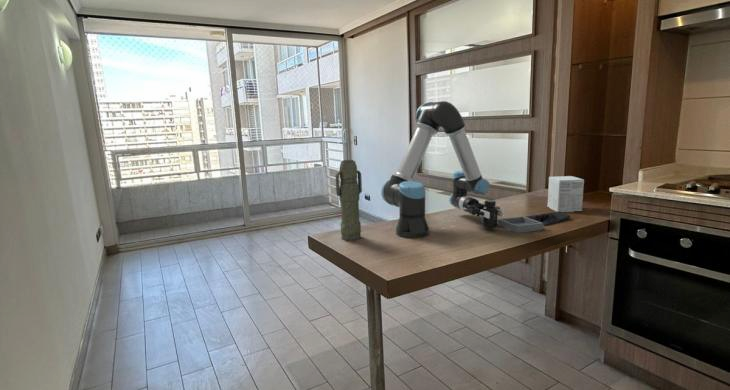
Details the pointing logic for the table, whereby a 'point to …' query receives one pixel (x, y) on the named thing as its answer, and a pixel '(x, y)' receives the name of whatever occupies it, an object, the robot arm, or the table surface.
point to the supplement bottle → (493, 211)
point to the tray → (520, 224)
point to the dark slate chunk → (550, 217)
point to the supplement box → (565, 193)
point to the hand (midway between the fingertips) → (496, 214)
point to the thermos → (349, 199)
